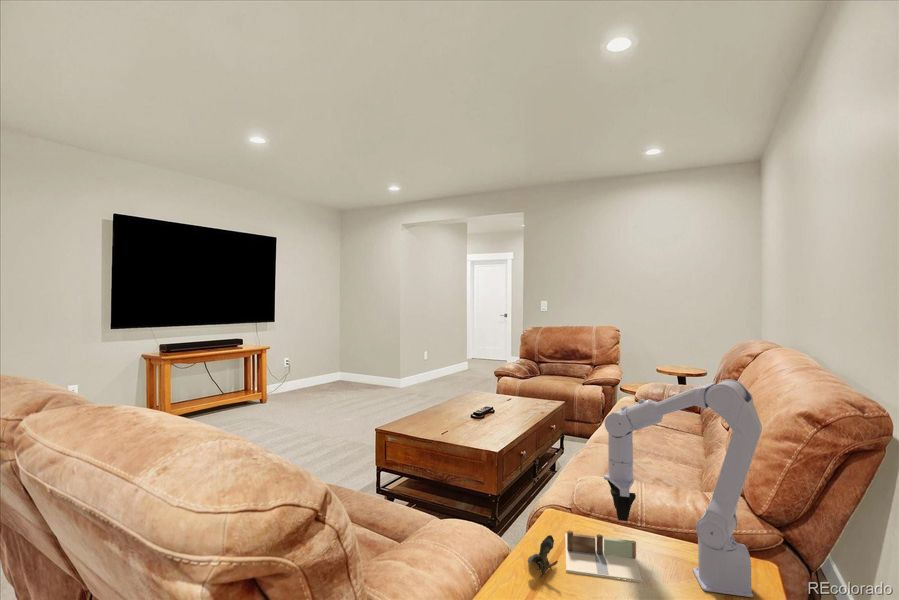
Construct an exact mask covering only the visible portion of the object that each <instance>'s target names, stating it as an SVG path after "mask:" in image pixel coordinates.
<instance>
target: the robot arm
mask: <svg viewBox="0 0 899 600" xmlns="http://www.w3.org/2000/svg"><path fill="white" fill-rule="evenodd" d="M693 406H694V407H695V406H696V407H698V408H701V409H704V410H706V409H708V408H710V409H711V410H712V411H713V412H714V413H716V414H717V415H718V416H719V417H721V418H722V419H724V421H725V422H726V424H727V425H728V426H729V428H730V429H731V431H732V434H731V436H730V440H729V443H728V445H727V446H728V447H727V449H726V453H725V456H724V459H723V462H722V465H721V468H720V471H719V475H718V477H717V480H716V483H715V485H714V489H713V493H712V496H711V499H710V501H709V503H708V505H707V508H706V510H705V512H704V513H703V515H702V516H701V517H700V518H699V519H698V520H697V521H696V524H695V532H696V535H697V538H698V540H697V545H698V547H697V548H698V550H697V551H698V553H697V554H698V557H697V558H698V563H697V564H698V567H692V572H693V573H694V575H695V578H696V580H697V582H698V584H699V586H700V587H701V589H702V591H705V592H710V593H717V594H718V593H719V594H724V595H732V596H739V597H746V598H753V597H754V593H752V592H753V591H752V590H753V589H752V560H751V556H750V552H749V550H748V548H747V546H746V545H745V544H742V543H739V542H737V541H736V539H735V536H734V535H733V534H734V532H735V531H736V529H737V527H738V523H739V522H738V518H737V511H738V505H739V501H740V497H741V494H742V491H743V489H744V485H745V483H746V480H747V476H748V474H749V470H750V468H751V465H752V461H753V459H754V456H755V452H756V449H757V447H758V443H759V440H760V437H761V434H762V430H763V426H762V423H761V420H760V417H759V414H758V411H757V409H756V406H755V403H754V399H753V395H752V393H751V392H750V391H749V390H748V389H747V388H746V387H745V386H744V384H742V383H741V382H740V381H738V380H736V379H733V378H726V379H723V380H721V381H719V382H718V383H717V382H710V383H706V384H701V385H698V386H694V387H693V388H690V389H688V390H687V389H686V390H685V391H683V392H680V393H678V394H675V395H672V396H670V397H668V398H665V399H662V400H660V401H655V400H653V399H650V398H649V399H645V398H642V399H639V400H638V401H637V403H635V404H633V405H630V406H626V405H625V406H623V407H620V409H619V410H617V411H615V412H611V413H610V414H608V415H607V416H606V418H605V419H604V428H605V429H606V431H607V433H608V440H607V441H608V442H607V443H608V446H607V447H608V474H603V479H604V480H606V481H607V483H608V485H609V488H610V490H609V491H610V495H611V496H612V501H613V505H614V508H615V510H616V511H615V512H616V516H617V520H618V521H621V522H628V520H629V516H630V512H631V508H632V505H633V503H634V501H635V500H636V497H637V495H636V493H635V492H630V489H631V487H632V486H633V484H634V483H635V478H634V452H633V451H634V448H633V447H634V446H633V445H634V442H633V432H634V431H639V430H643V429H644V428H648V427H650V426H654V425H657V424H661V422H662V421H663V417H664V416H665V415H667V414H671V413H674V412H678V411H680V410H684V409H687V408H690V407H693Z"/></svg>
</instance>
